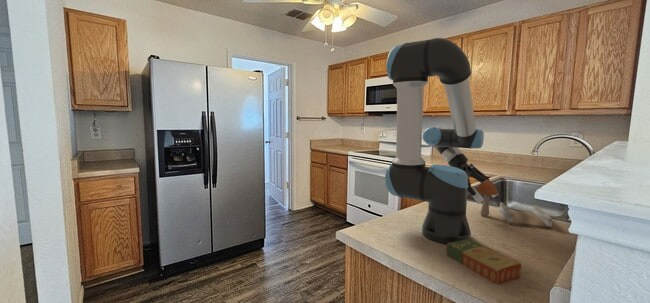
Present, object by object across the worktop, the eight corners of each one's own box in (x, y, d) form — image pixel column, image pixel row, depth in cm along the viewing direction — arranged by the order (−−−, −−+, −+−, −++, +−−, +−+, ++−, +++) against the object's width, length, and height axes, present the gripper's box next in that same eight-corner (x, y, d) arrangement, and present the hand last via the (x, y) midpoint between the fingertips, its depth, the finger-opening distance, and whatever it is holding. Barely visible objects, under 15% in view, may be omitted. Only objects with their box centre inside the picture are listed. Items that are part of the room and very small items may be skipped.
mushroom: (493, 213, 117) (495, 178, 116) (499, 219, 110) (502, 182, 108) (472, 211, 119) (474, 177, 118) (477, 218, 112) (479, 181, 110)
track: (508, 224, 105) (509, 214, 104) (499, 211, 120) (500, 202, 119) (551, 229, 100) (552, 218, 100) (535, 215, 115) (536, 205, 115)
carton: (497, 286, 67) (498, 269, 66) (445, 256, 82) (446, 241, 81) (520, 278, 70) (522, 262, 69) (467, 251, 85) (467, 237, 84)
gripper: (462, 160, 134) (494, 198, 124) (433, 166, 119) (466, 209, 109) (474, 150, 129) (508, 189, 119) (445, 154, 114) (482, 199, 104)
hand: (488, 198), depth 114 cm, fingers open, 13 cm apart
